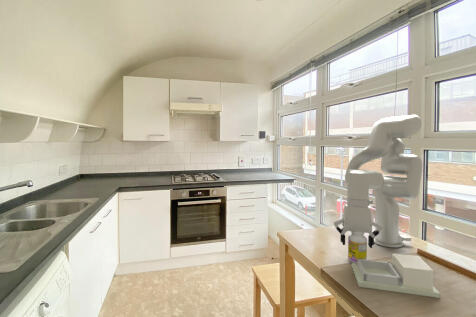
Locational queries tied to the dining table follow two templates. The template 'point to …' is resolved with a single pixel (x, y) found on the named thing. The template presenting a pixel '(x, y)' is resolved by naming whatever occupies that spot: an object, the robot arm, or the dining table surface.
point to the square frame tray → (397, 275)
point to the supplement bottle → (357, 246)
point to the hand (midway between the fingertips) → (356, 245)
